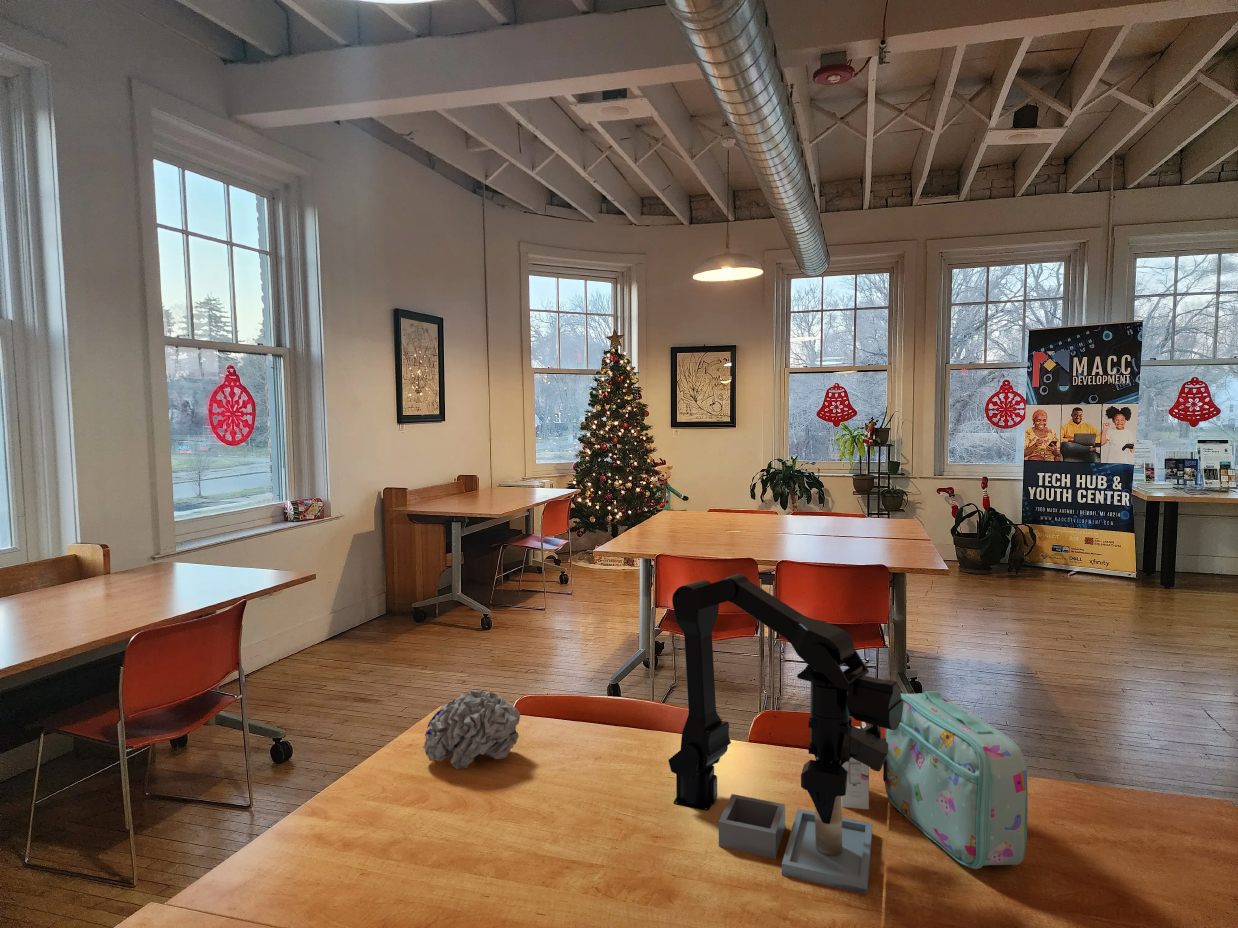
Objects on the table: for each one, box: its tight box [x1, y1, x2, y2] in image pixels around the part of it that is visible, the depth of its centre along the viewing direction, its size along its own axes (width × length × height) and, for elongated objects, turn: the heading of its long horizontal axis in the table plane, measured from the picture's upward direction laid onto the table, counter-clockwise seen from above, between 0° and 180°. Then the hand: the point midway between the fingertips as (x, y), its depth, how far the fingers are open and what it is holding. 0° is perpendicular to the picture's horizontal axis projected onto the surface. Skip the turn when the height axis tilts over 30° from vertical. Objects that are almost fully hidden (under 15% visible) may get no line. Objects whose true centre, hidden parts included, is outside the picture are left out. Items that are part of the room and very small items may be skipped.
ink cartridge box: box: [841, 722, 870, 810], centre depth 125 cm, size 9×5×15 cm, turn 169°
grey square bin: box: [718, 793, 786, 860], centre depth 113 cm, size 9×9×4 cm
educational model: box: [422, 689, 521, 770], centre depth 142 cm, size 14×20×15 cm
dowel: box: [814, 796, 843, 856], centre depth 108 cm, size 4×4×10 cm
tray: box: [781, 808, 873, 896], centre depth 109 cm, size 12×16×2 cm
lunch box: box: [882, 690, 1029, 870], centre depth 115 cm, size 27×10×21 cm, turn 12°
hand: (829, 809), depth 108 cm, fingers open, 8 cm apart
